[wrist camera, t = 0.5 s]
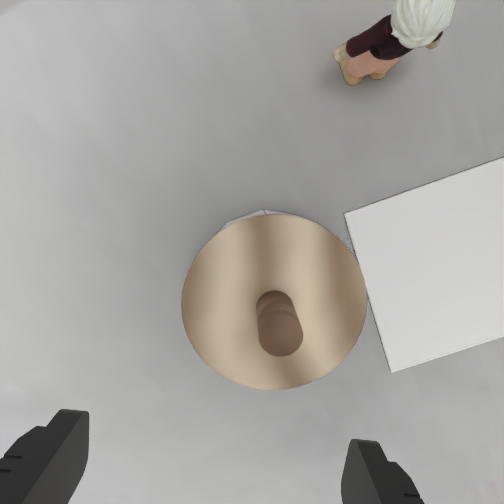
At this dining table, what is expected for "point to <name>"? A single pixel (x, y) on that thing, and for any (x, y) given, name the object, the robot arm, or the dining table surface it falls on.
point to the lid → (274, 302)
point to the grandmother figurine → (394, 38)
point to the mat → (435, 264)
